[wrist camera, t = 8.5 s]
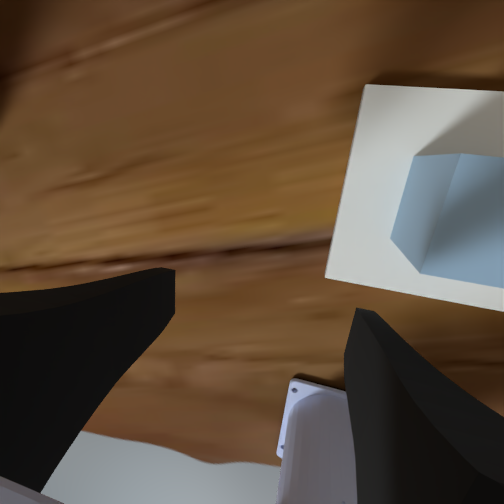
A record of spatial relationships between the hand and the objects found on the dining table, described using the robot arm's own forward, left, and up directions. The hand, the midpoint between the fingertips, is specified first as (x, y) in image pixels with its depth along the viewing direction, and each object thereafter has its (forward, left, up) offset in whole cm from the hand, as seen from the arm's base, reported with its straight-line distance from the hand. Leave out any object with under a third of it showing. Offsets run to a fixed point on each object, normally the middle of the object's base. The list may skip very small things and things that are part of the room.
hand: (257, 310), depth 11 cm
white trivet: (+4, -9, -10) cm, 14 cm away
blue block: (+4, -9, -9) cm, 14 cm away
